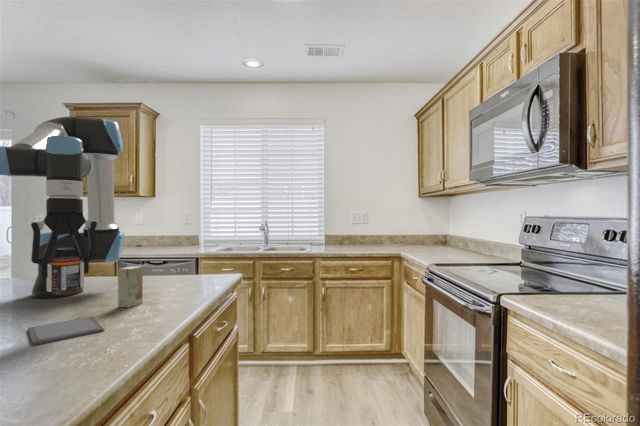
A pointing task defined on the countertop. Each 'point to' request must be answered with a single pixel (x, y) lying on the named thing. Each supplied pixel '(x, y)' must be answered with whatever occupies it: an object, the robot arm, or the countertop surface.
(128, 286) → the skincare box
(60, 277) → the supplement bottle
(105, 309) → the countertop surface
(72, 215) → the robot arm
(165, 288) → the countertop surface
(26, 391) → the countertop surface
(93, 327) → the coaster
